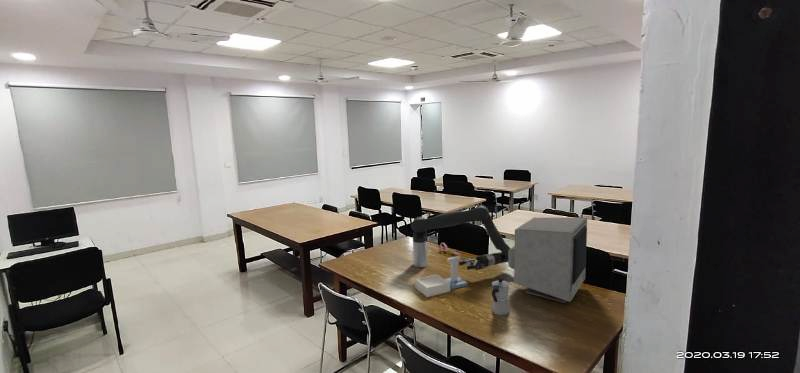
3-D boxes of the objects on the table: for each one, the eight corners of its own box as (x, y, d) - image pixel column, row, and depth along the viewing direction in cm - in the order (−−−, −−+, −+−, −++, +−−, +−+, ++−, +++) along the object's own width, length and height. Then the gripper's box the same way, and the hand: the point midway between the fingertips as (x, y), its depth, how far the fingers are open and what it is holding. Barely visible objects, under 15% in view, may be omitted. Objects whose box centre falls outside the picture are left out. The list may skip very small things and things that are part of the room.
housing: (414, 287, 218) (414, 278, 217) (437, 282, 224) (436, 273, 223) (427, 297, 204) (426, 288, 203) (450, 291, 210) (450, 282, 209)
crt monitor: (573, 312, 181) (575, 233, 175) (500, 294, 204) (500, 223, 198) (587, 286, 209) (590, 217, 203) (522, 273, 231) (522, 211, 225)
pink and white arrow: (459, 260, 268) (439, 250, 282) (460, 259, 269) (440, 249, 283) (460, 251, 266) (440, 242, 280) (461, 251, 267) (441, 241, 281)
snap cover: (441, 282, 223) (441, 256, 220) (457, 279, 227) (456, 253, 225) (451, 289, 213) (450, 262, 210) (467, 285, 217) (467, 258, 215)
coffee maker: (497, 304, 192) (497, 271, 190) (514, 308, 187) (514, 274, 184) (484, 315, 181) (484, 280, 179) (501, 320, 176) (501, 284, 173)
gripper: (478, 251, 233) (456, 256, 227) (492, 258, 220) (470, 263, 214) (478, 263, 234) (456, 268, 228) (492, 270, 221) (470, 275, 215)
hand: (463, 265), depth 221 cm, fingers open, 8 cm apart
